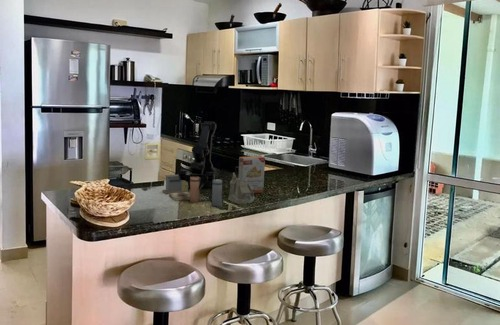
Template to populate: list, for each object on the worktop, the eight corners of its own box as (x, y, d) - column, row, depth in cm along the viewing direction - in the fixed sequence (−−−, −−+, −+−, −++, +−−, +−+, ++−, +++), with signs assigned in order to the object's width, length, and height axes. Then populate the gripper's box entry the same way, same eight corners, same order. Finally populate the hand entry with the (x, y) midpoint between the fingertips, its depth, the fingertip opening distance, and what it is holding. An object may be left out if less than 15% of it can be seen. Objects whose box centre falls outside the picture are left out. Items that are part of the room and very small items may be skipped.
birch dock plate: (190, 194, 251) (190, 191, 251) (196, 198, 241) (197, 195, 241) (169, 195, 246) (169, 193, 245) (175, 200, 236) (175, 197, 236)
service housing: (181, 190, 260) (181, 173, 258) (185, 192, 254) (185, 176, 252) (162, 191, 255) (162, 174, 253) (166, 194, 249) (166, 177, 247)
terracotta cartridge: (197, 199, 239) (197, 175, 237) (200, 202, 235) (201, 177, 233) (188, 200, 237) (188, 176, 235) (191, 202, 233) (192, 178, 231)
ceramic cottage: (235, 204, 232) (237, 175, 231) (223, 198, 247) (225, 171, 246) (262, 204, 239) (264, 176, 237) (249, 198, 254) (251, 171, 252)
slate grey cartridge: (219, 203, 233) (220, 178, 231) (223, 205, 229) (223, 180, 227) (210, 204, 231) (211, 179, 229) (214, 206, 227) (214, 181, 225)
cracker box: (242, 195, 254) (243, 158, 250) (237, 192, 259) (238, 156, 256) (264, 193, 260) (265, 157, 257) (259, 190, 266) (260, 155, 262)
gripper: (179, 155, 237) (173, 180, 228) (214, 156, 235) (210, 182, 226) (182, 167, 246) (177, 191, 237) (216, 169, 244) (212, 193, 235)
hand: (194, 189), depth 234 cm, fingers closed on terracotta cartridge, 5 cm apart
